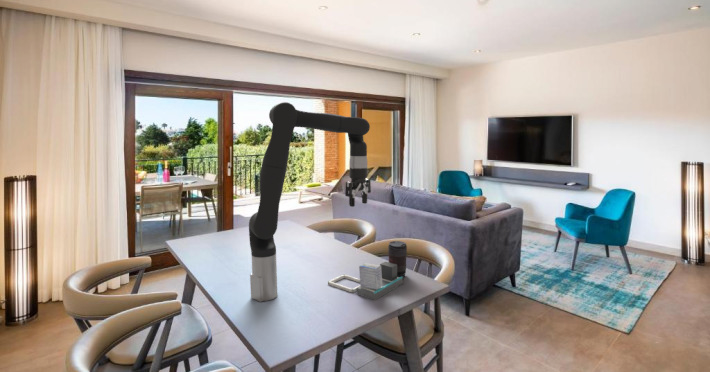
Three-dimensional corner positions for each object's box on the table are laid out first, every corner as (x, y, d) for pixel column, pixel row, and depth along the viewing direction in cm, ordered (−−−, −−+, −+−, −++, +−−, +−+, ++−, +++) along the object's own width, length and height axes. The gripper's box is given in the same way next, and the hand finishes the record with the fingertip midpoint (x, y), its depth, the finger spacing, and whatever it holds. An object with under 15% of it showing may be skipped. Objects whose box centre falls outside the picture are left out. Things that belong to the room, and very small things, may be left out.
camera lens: (385, 277, 162) (385, 244, 160) (392, 271, 169) (392, 239, 167) (402, 280, 158) (403, 247, 156) (408, 274, 165) (409, 242, 163)
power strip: (375, 300, 139) (375, 278, 138) (356, 293, 145) (356, 273, 144) (402, 283, 155) (402, 264, 154) (384, 278, 160) (385, 259, 159)
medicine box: (382, 286, 144) (381, 265, 144) (377, 290, 141) (376, 268, 140) (366, 283, 149) (364, 262, 148) (360, 287, 145) (358, 265, 144)
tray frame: (352, 292, 146) (352, 290, 146) (327, 284, 154) (327, 281, 154) (368, 284, 154) (368, 281, 154) (344, 276, 162) (344, 274, 162)
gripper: (361, 165, 161) (361, 201, 163) (340, 167, 150) (340, 206, 152) (375, 166, 156) (375, 203, 158) (354, 168, 145) (354, 208, 147)
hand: (358, 204), depth 155 cm, fingers open, 8 cm apart
